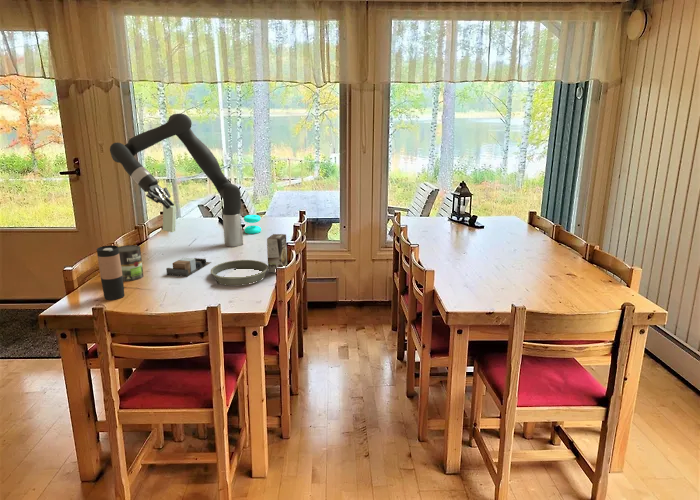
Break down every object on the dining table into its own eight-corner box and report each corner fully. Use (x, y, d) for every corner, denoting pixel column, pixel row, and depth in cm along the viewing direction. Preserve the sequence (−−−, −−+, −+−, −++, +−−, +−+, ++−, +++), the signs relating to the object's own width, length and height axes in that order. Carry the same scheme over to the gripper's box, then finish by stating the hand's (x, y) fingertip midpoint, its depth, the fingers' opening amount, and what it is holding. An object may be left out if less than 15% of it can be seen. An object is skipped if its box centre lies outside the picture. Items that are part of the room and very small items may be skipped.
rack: (192, 262, 229) (192, 254, 228) (211, 264, 227) (211, 256, 226) (167, 277, 209) (166, 268, 208) (187, 278, 207) (186, 270, 206)
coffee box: (281, 273, 214) (279, 239, 210) (267, 272, 216) (266, 238, 211) (287, 267, 223) (286, 234, 218) (274, 266, 224) (273, 233, 220)
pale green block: (165, 229, 224) (166, 204, 220) (175, 231, 223) (176, 206, 220) (162, 230, 222) (163, 205, 218) (172, 232, 221) (172, 207, 217)
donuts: (245, 214, 289) (262, 214, 288) (246, 230, 291) (262, 230, 291) (241, 217, 279) (258, 217, 279) (242, 234, 282) (259, 234, 282)
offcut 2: (184, 267, 219) (183, 257, 217) (196, 268, 217) (195, 258, 216) (179, 270, 215) (178, 260, 213) (191, 271, 213) (190, 261, 212)
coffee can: (149, 278, 208) (145, 247, 204) (127, 285, 200) (123, 253, 196) (134, 274, 213) (130, 243, 209) (113, 280, 205) (108, 249, 201)
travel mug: (108, 293, 191) (101, 245, 185) (128, 293, 191) (121, 245, 186) (100, 300, 183) (92, 251, 178) (121, 300, 184) (113, 250, 178)
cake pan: (208, 272, 217) (208, 262, 215) (262, 266, 225) (262, 257, 224) (214, 290, 195) (213, 280, 193) (273, 283, 203) (273, 273, 202)
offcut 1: (178, 271, 214) (177, 260, 213) (190, 272, 213) (189, 261, 212) (173, 273, 211) (172, 263, 209) (185, 275, 209) (184, 264, 208)
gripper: (139, 175, 210) (166, 204, 211) (158, 171, 223) (184, 198, 224) (130, 187, 213) (157, 215, 214) (149, 182, 226) (175, 209, 227)
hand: (170, 206), depth 219 cm, fingers closed on pale green block, 2 cm apart
